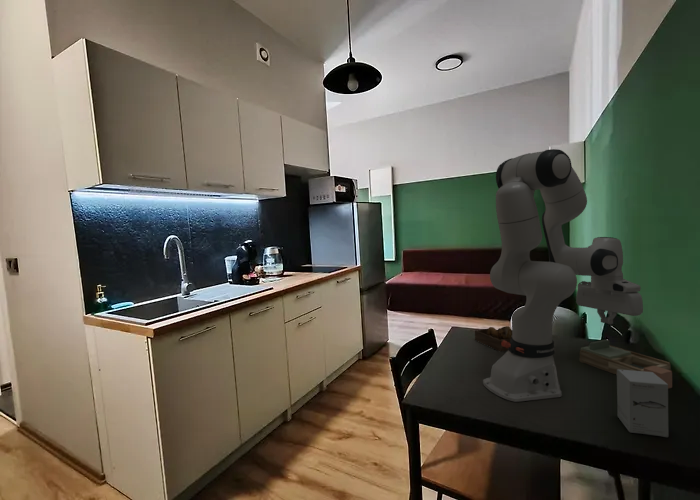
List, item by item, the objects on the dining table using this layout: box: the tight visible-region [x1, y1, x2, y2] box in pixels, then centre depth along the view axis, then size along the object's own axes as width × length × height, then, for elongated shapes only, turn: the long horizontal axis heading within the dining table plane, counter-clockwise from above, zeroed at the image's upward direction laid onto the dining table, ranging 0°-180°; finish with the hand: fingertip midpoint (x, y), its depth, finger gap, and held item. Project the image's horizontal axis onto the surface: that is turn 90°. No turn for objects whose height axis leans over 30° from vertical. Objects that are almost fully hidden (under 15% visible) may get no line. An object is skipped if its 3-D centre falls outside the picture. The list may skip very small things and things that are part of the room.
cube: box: [644, 366, 673, 390], centre depth 97 cm, size 4×4×5 cm
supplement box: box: [616, 369, 669, 438], centre depth 78 cm, size 7×7×13 cm
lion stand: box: [474, 327, 512, 353], centre depth 140 cm, size 8×16×4 cm, turn 16°
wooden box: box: [579, 344, 672, 376], centre depth 111 cm, size 14×19×4 cm
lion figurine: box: [487, 325, 512, 340], centre depth 139 cm, size 15×5×9 cm, turn 26°
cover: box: [580, 338, 631, 359], centre depth 116 cm, size 10×10×3 cm
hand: (606, 323), depth 114 cm, fingers closed
